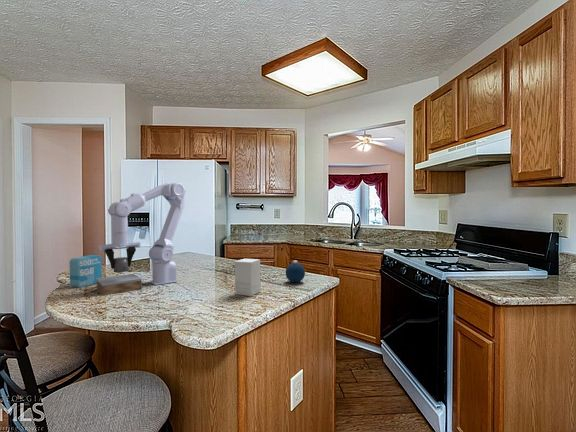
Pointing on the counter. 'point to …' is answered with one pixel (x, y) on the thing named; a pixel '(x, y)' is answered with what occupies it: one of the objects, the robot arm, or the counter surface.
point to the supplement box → (247, 277)
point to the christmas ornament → (295, 272)
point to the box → (119, 287)
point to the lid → (118, 279)
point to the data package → (85, 270)
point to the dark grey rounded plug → (120, 264)
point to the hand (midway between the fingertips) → (120, 267)
